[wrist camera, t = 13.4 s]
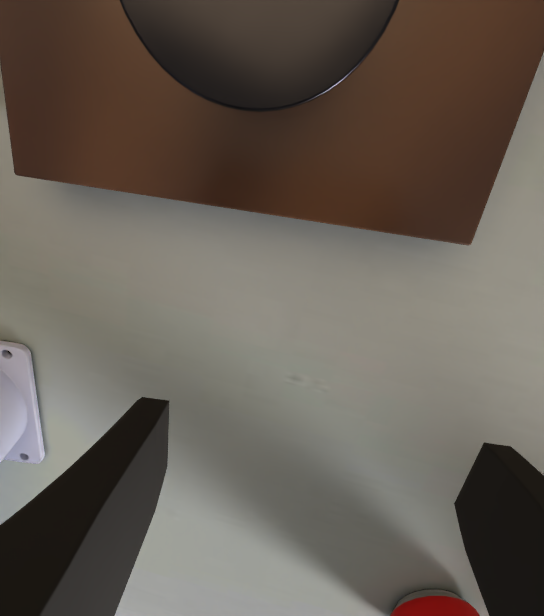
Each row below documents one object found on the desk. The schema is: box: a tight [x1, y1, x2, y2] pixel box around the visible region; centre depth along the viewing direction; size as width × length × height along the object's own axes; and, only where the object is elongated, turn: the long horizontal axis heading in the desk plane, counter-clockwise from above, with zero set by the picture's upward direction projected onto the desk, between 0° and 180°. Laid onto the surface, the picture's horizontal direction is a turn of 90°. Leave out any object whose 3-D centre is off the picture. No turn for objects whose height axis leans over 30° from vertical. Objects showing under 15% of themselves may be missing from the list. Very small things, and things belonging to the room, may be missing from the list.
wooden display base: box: [0, 0, 544, 245], centre depth 12 cm, size 16×12×5 cm
